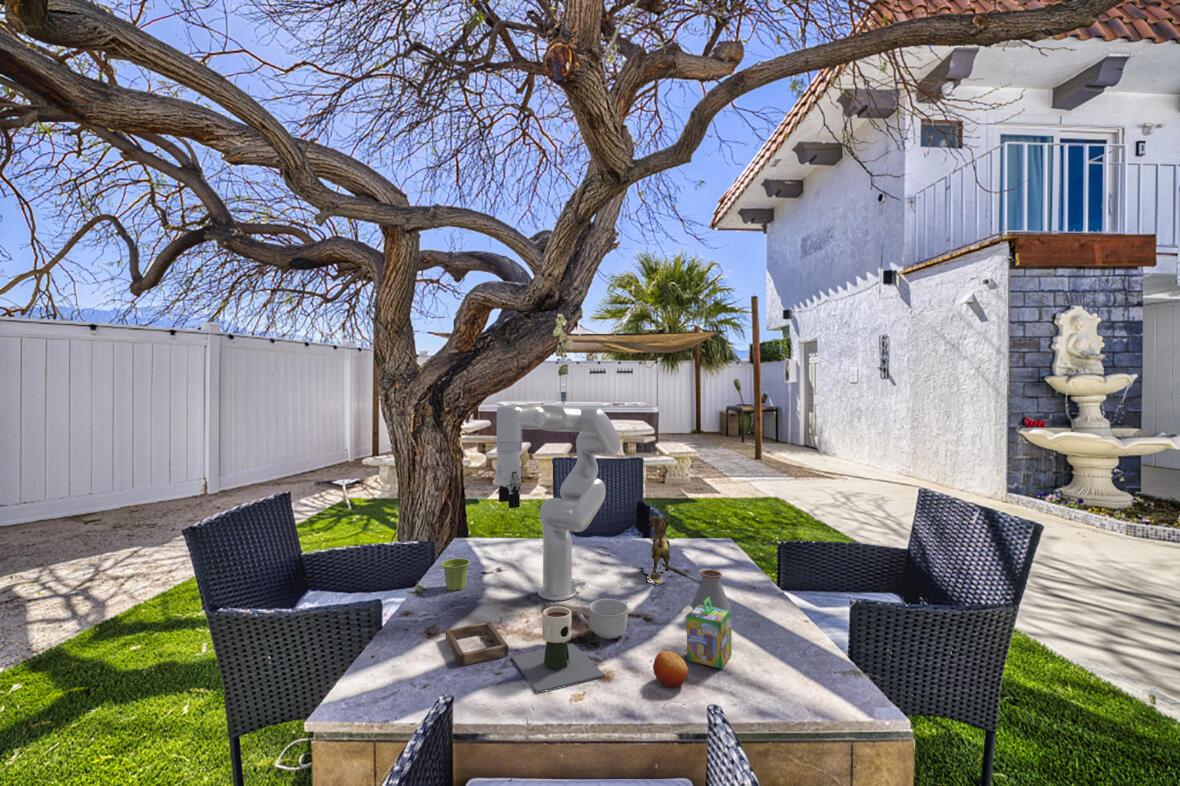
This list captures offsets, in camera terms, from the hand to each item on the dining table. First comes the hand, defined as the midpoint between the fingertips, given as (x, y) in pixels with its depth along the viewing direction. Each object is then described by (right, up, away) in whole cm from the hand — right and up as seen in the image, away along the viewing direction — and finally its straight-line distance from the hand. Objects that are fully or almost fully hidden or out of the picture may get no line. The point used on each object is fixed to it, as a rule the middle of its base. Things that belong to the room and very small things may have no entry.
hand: (508, 504), depth 167 cm
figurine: (+49, -34, +39) cm, 71 cm away
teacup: (+28, -34, -12) cm, 45 cm away
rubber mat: (+16, -34, -31) cm, 48 cm away
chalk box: (+55, -34, -25) cm, 69 cm away
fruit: (+43, -34, -38) cm, 66 cm away
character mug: (+16, -33, -31) cm, 48 cm away
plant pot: (-21, -33, +23) cm, 46 cm away
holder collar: (-6, -33, -20) cm, 40 cm away
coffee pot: (+56, -34, +2) cm, 65 cm away
